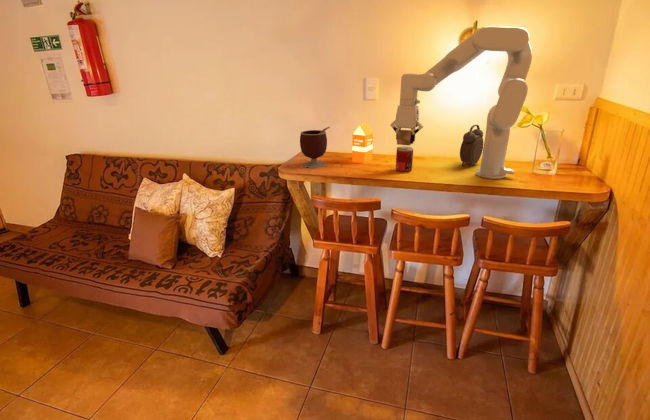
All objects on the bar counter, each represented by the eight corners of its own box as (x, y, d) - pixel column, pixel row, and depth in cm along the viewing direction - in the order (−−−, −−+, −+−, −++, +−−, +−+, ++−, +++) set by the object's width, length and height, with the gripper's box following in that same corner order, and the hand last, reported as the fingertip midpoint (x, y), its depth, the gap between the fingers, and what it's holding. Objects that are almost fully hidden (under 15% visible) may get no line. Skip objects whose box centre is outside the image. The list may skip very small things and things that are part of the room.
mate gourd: (298, 168, 180) (296, 128, 172) (304, 161, 192) (302, 124, 184) (328, 169, 177) (327, 129, 169) (332, 162, 189) (331, 124, 182)
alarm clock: (468, 160, 186) (473, 122, 178) (481, 163, 181) (487, 123, 173) (455, 166, 176) (460, 126, 169) (469, 169, 171) (475, 127, 164)
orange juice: (352, 161, 190) (352, 123, 182) (360, 158, 196) (360, 121, 189) (364, 163, 185) (365, 125, 178) (372, 159, 192) (373, 122, 184)
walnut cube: (413, 143, 168) (414, 130, 166) (409, 145, 163) (410, 132, 161) (401, 142, 171) (401, 129, 169) (396, 144, 166) (397, 131, 164)
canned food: (407, 173, 167) (409, 150, 163) (392, 170, 172) (393, 148, 167) (414, 169, 173) (416, 147, 168) (399, 167, 177) (401, 145, 173)
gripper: (429, 102, 159) (425, 142, 166) (393, 101, 167) (390, 139, 174) (424, 104, 153) (420, 145, 160) (387, 102, 161) (385, 141, 168)
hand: (405, 141), depth 167 cm, fingers closed on walnut cube, 6 cm apart
